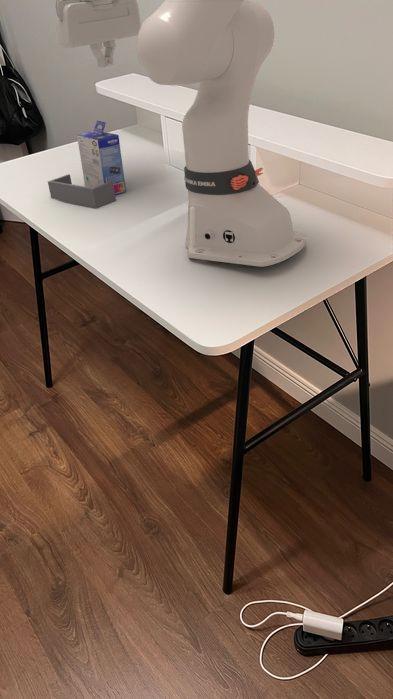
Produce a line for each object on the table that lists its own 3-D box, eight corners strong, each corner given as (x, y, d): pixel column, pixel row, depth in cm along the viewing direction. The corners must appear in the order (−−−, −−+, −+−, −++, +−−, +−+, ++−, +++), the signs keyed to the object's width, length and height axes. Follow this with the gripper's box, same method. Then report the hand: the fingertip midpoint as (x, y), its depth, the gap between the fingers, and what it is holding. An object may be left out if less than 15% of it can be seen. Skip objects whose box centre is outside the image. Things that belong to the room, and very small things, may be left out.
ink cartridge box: (128, 191, 136) (118, 122, 128) (106, 198, 133) (94, 128, 126) (106, 184, 143) (95, 118, 135) (85, 190, 140) (72, 123, 133)
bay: (115, 200, 131) (112, 181, 129) (95, 208, 127) (92, 189, 125) (71, 192, 140) (67, 174, 137) (51, 199, 136) (47, 181, 134)
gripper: (65, -7, 113) (79, 75, 121) (141, -16, 127) (149, 58, 134) (42, -5, 117) (57, 74, 124) (119, -14, 130) (128, 58, 137)
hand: (106, 66), depth 129 cm, fingers closed
